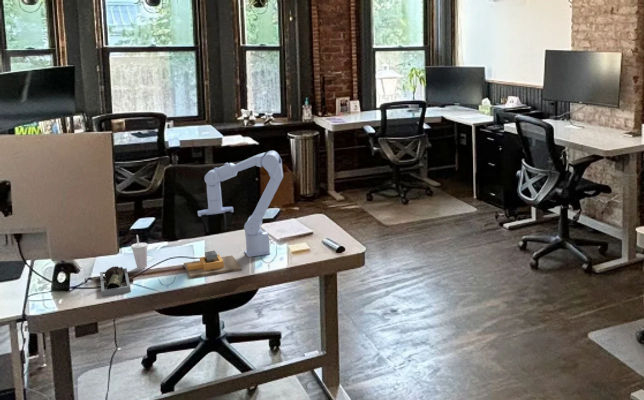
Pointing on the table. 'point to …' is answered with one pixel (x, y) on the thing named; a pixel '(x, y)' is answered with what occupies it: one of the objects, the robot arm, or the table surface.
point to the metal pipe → (114, 277)
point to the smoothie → (140, 254)
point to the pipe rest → (115, 290)
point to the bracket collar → (206, 264)
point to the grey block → (210, 256)
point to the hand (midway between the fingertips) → (217, 230)
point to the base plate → (229, 266)
